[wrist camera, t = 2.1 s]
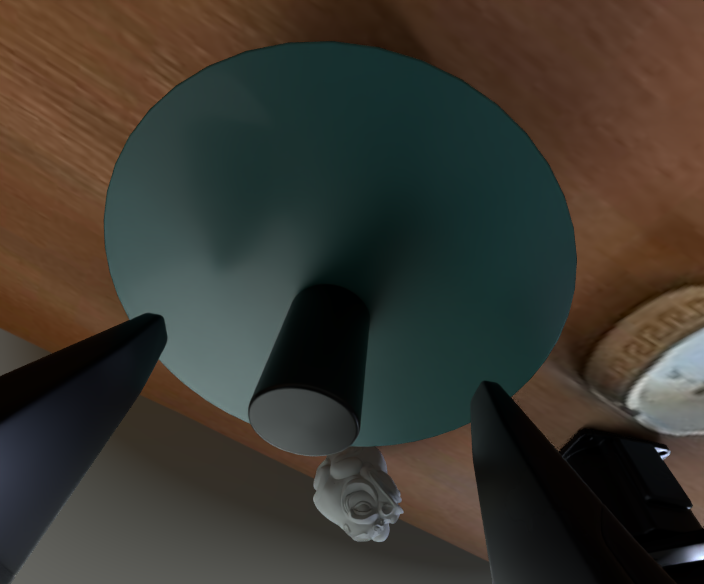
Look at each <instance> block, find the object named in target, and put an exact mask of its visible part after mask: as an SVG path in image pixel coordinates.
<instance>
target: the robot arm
mask: <svg viewBox="0 0 704 584" xmlns="http://www.w3.org/2000/svg"><path fill="white" fill-rule="evenodd" d="M167 340H168V336H167V330H166V325H165V319H164V317H163V316H162V315H159V314H154V313H145V314H142V315H140V316H137V317H135V318H133V319H131V320H128V321H126V322H124V323H121V324H119V325H117V326H114V327H112V328H110V329H108V330H105V331H103V332H101V333H98V334H96V335H94V336H91V337H89V338H87V339H85V340H82V341H80V342H78V343H75V344H73V345H71V346H68V347H66V348H64V349H61V350H59V351H57V352H55V353H52V354H50V355H48V356H46V357H43V358H41V359H38V360H37V361H34V362H32V363H29V364H27V365H25V366H22V367H20V368H18V369H15V370H13V371H11V372H9V373H6V374H4V375H2V376H0V584H11V583H12V581H13V580H14V578H15V575H17V573H18V572H19V570H20V569H21V568H22V566H23V565H24V563H25V562H26V560H27V559H28V557H29V556H30V554H31V553H32V551H33V550H34V549H35V547H36V546H37V544H38V543H39V541H40V540H41V538H42V537H43V535H44V534H45V532H46V531H47V529H48V528H49V526H50V525H51V524H52V522H53V520H54V519H55V518H56V516H57V515H58V513H59V512H60V510H61V509H62V507H63V506H64V505H65V503H66V502H67V500H68V499H69V497H70V496H71V494H72V493H73V491H74V490H75V488H76V487H77V485H78V484H79V483H80V481H81V479H82V478H83V477H84V475H85V474H86V472H87V471H88V469H89V468H90V466H91V465H92V463H93V462H94V460H95V459H96V458H97V456H98V455H99V453H100V452H101V450H102V449H103V447H104V446H105V444H106V443H107V441H108V440H109V439H110V437H111V436H112V434H113V432H114V431H115V429H116V428H117V427H118V425H119V424H120V422H121V421H122V419H123V418H124V417H125V415H126V413H127V412H128V411H129V409H130V408H131V406H132V405H133V403H134V402H135V400H136V399H137V397H138V396H139V394H140V393H141V391H142V389H143V387H144V386H145V384H146V382H147V380H148V378H149V376H150V374H151V372H152V371H153V369H154V367H155V365H156V363H157V361H158V359H159V357H160V356H161V354H162V352H163V350H164V348H165V346H166V344H167ZM470 413H471V434H472V453H473V463H474V470H475V476H476V482H477V489H478V495H479V501H480V507H481V514H482V520H483V526H484V532H485V539H486V545H487V551H488V557H489V563H490V569H491V576H492V582H493V584H704V529H703V528H702V526H701V525H700V523H699V522H698V520H697V519H696V517H695V516H694V514H693V513H692V511H691V510H690V508H692V506H693V505H692V503H691V501H690V499H689V498H688V496H687V495H686V493H685V492H684V490H683V489H682V487H681V486H680V484H679V483H678V481H677V480H676V478H675V477H674V475H673V474H672V473H671V471H670V470H669V468H668V467H667V465H666V464H665V462H664V461H663V459H664V458H665V457H667V456H668V455H669V454H670V453H671V451H670V450H669V449H668V447H667V446H666V445H664V444H660V443H655V442H650V441H645V440H640V439H635V438H630V437H625V436H620V435H615V434H610V433H605V432H600V431H595V430H590V429H584V430H581V431H579V432H578V433H577V434H576V435H575V436H574V437H573V438H572V439H571V440H570V442H569V443H568V444H567V445H566V446H565V447H564V448H563V449H562V450H561V451H560V452H558V451H557V450H556V449H555V447H554V446H553V445H552V444H551V443H550V442H549V441H548V439H547V438H546V437H545V436H544V435H543V434H542V433H541V431H540V430H539V429H538V428H537V427H536V426H535V424H534V423H533V422H532V421H531V420H530V419H529V418H528V416H527V415H526V414H525V413H524V412H523V411H522V410H521V408H520V407H519V406H518V405H517V404H516V403H515V401H514V400H513V399H512V398H511V397H510V396H509V395H508V393H507V392H506V391H505V390H504V389H503V388H502V387H501V385H500V384H498V383H496V382H491V381H486V380H484V381H482V382H481V383H480V385H479V387H478V388H477V390H476V392H475V393H474V395H473V397H472V399H471V403H470ZM703 527H704V526H703Z"/></svg>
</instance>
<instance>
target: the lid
mask: <svg viewBox="0 0 704 584" xmlns="http://www.w3.org/2000/svg"><path fill="white" fill-rule="evenodd" d="M104 238H105V250H106V255H107V260H108V265H109V270H110V274H111V277H112V280H113V283H114V286H115V289H116V292H117V295H118V297H119V299H120V301H121V303H122V305H123V307H124V309H125V312H126V314H127V316H128V318H129V319H130V320H131V319H133V318H135V317H137V316H140V315H142V314H145V313H154V314H159V315H162V316H163V317H164V319H165V325H166V330H167V336H168V340H167V344H166V346H165V348H164V350H163V352H162V354H161V356H160V357H159V360H160V361H161V362H162V363H163V364H164V365H165V366H166V367H167V368H168V369H169V370H170V371H171V372H172V373H173V374H174V375H175V376H176V377H177V378H178V379H180V380H181V381H182V382H183V383H184V384H185V385H187V386H188V387H189V388H190V389H192V390H193V391H194V392H196V393H197V394H199V395H200V396H201V397H203V398H204V399H206V400H207V401H209V402H210V403H212V404H214V405H215V406H217V407H219V408H220V409H222V410H224V411H225V412H227V413H229V414H231V415H233V416H235V417H237V418H239V419H241V420H243V421H245V422H247V423H250V424H251V426H252V427H253V429H254V430H255V431H256V433H257V434H258V435H259V436H260V437H261V438H263V439H264V440H265V441H267V442H268V443H270V444H271V445H273V446H275V447H277V448H279V449H282V450H284V451H287V452H290V453H294V454H299V455H305V456H325V455H331V454H335V453H338V452H341V451H343V450H345V449H347V448H348V447H349V446H356V447H372V446H385V445H395V444H402V443H408V442H414V441H418V440H422V439H426V438H430V437H434V436H437V435H440V434H443V433H446V432H449V431H452V430H455V429H457V428H459V427H462V426H464V425H466V424H468V423H470V422H471V413H470V403H471V399H472V397H473V395H474V393H475V392H476V390H477V388H478V387H479V385H480V383H481V382H482V381H484V380H486V381H491V382H496V383H498V384H500V385H501V387H502V388H503V389H504V390H505V391H506V392H507V393H508V395H509V396H510V397H511V396H513V395H514V394H515V393H516V392H517V391H518V390H519V389H520V388H521V387H522V386H524V385H525V384H526V383H527V382H528V381H529V380H530V379H531V378H532V376H533V375H534V374H535V373H536V371H537V370H538V369H539V368H540V367H541V365H542V364H543V363H544V362H545V360H546V359H547V357H548V356H549V354H550V352H551V351H552V349H553V347H554V346H555V344H556V342H557V341H558V339H559V337H560V334H561V332H562V329H563V327H564V325H565V322H566V320H567V317H568V315H569V311H570V307H571V303H572V298H573V294H574V290H575V280H576V265H577V255H576V245H575V236H574V227H573V224H572V220H571V217H570V213H569V210H568V206H567V203H566V200H565V196H564V194H563V192H562V190H561V188H560V186H559V184H558V182H557V180H556V178H555V176H554V174H553V172H552V169H551V167H550V165H549V164H548V162H547V161H546V159H545V158H544V157H543V155H542V154H541V153H540V151H539V150H538V148H537V147H536V146H535V144H534V143H533V141H532V140H531V139H530V137H529V136H528V135H527V133H526V132H525V131H524V130H523V129H522V128H521V127H520V126H519V125H518V124H517V123H516V122H515V121H514V120H513V119H512V118H511V117H510V116H509V115H508V114H507V113H506V112H505V111H504V110H502V109H501V108H500V107H499V106H498V105H497V104H496V103H495V102H493V101H492V100H490V99H489V98H487V97H486V96H485V95H483V94H482V93H480V92H479V91H478V90H476V89H475V88H473V87H472V86H470V85H469V84H468V83H466V82H465V81H463V80H462V79H460V78H458V77H456V76H454V75H451V74H449V73H447V72H445V71H443V70H441V69H439V68H437V67H435V66H433V65H431V64H429V63H427V62H425V61H423V60H420V59H416V58H413V57H410V56H406V55H403V54H400V53H396V52H393V51H390V50H386V49H383V48H380V47H374V46H367V45H359V44H352V43H344V42H336V41H318V42H288V43H283V44H278V45H273V46H268V47H263V48H258V49H253V50H249V51H245V52H242V53H240V54H237V55H235V56H232V57H229V58H227V59H224V60H222V61H219V62H217V63H214V64H212V65H209V66H207V67H206V68H204V69H202V70H201V71H199V72H197V73H196V74H194V75H193V76H191V77H189V78H188V79H186V80H184V81H183V82H181V83H179V84H178V85H176V86H175V87H174V88H173V89H172V90H171V91H170V92H168V93H167V94H166V95H165V96H164V97H163V98H162V99H161V100H160V101H158V102H157V103H156V104H155V105H154V106H153V107H152V108H151V109H150V110H149V111H148V112H147V114H146V115H145V116H144V118H143V119H142V120H141V121H140V123H139V124H138V125H137V127H136V128H135V129H134V131H133V132H132V133H131V135H130V136H129V138H128V140H127V142H126V144H125V146H124V148H123V150H122V152H121V154H120V156H119V158H118V160H117V162H116V164H115V167H114V170H113V174H112V177H111V180H110V184H109V187H108V190H107V196H106V205H105V213H104Z"/></svg>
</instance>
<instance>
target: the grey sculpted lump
mask: <svg viewBox="0 0 704 584" xmlns="http://www.w3.org/2000/svg"><path fill="white" fill-rule="evenodd" d="M314 488H315V489H316V490H317V491H316V493H315V495H314V503H315V505H316V507H317V508H318V510H319V511H320V512H321V513H322V514H323V515H324V516H326V517H327V518H328V519H329V520H331V521H332V522H334V523H335V524H337V525H339V526H340V527H341V528H342V529H343V530H345V532H346V533H347V534H348V535H349V536H350V537H352V539H353V540H355V541H358V542H360V541H369V540H371V539H373V540H374V541H377V542H381V541H384V540H385V539H386V538H387V537H388V535H389V530H390V528H389V523H392V524H394V523H395V522H396V521H397V519H398V518H399V515H400V514H401V513H403V510H402V509H401V507H400V506H399V505H398V503H400V502H401V498H400V491H399V490H398V489H397V487H396V485H395V483H394V481H393V480H392V478H391V477H390V476H389V475H388V474H387V466H386V462H385V460H384V457H383V455H382V454H381V452H380V451H379V449H378V448H377V447H376V446H372V447H356V446H349V447H348V448H347V449H345V450H343V451H341V452H338V453H335V454H331V455H327V457H326V459H325V460H324V461H323V462H322V463H321V464H320V465H319V467H318V469H317V472H316V476H315V480H314Z"/></svg>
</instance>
